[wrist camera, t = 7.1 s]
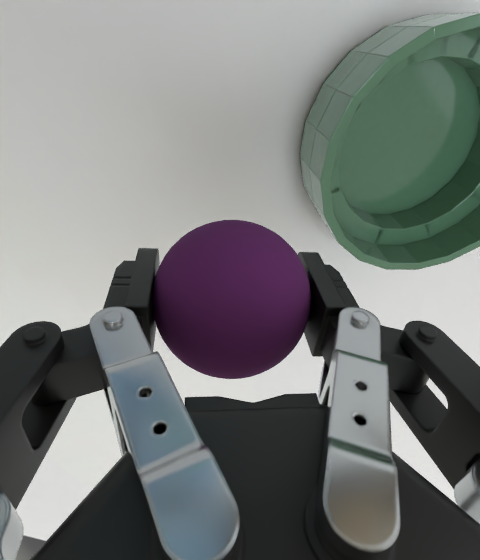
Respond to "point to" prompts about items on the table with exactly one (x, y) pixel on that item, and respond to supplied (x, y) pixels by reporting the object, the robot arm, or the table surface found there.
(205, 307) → the ball
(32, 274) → the table surface
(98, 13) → the table surface
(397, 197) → the bowl
